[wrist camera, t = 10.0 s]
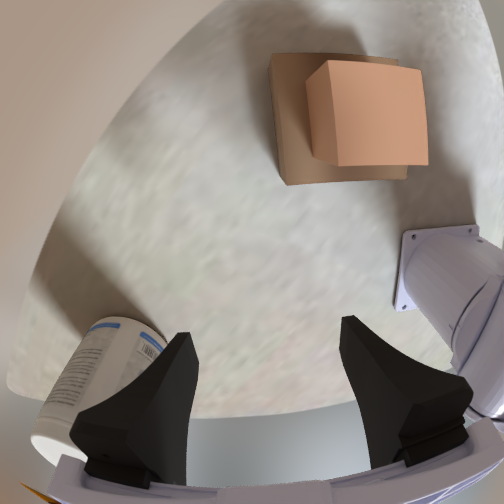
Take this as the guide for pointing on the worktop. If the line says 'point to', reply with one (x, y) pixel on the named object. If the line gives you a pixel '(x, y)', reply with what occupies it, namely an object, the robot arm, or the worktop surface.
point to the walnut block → (298, 122)
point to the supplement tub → (93, 380)
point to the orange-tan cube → (367, 114)
